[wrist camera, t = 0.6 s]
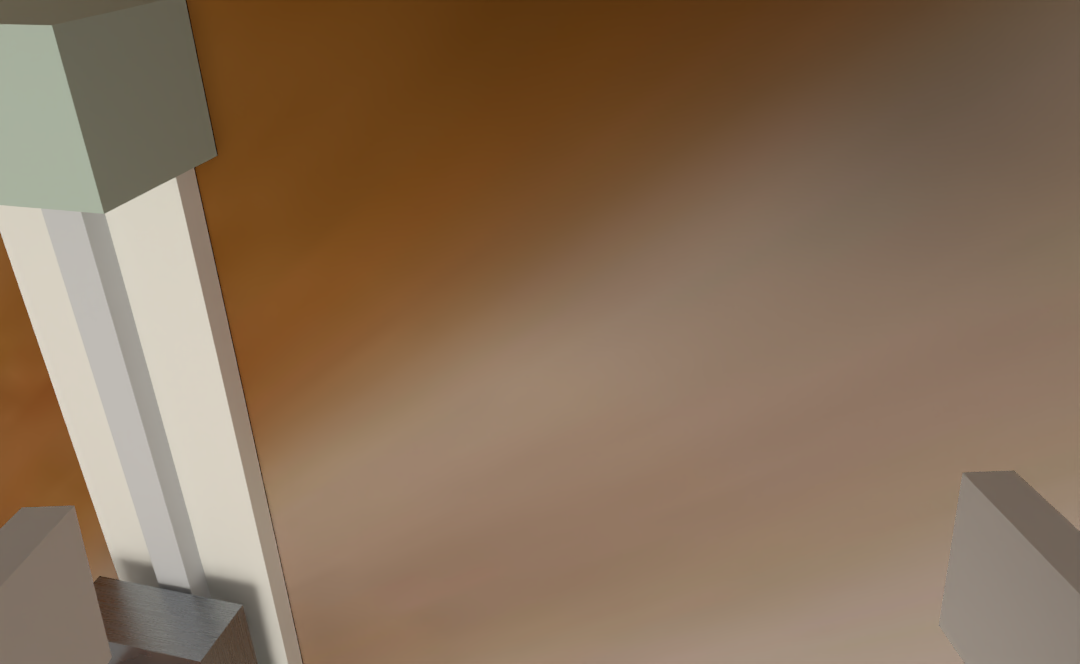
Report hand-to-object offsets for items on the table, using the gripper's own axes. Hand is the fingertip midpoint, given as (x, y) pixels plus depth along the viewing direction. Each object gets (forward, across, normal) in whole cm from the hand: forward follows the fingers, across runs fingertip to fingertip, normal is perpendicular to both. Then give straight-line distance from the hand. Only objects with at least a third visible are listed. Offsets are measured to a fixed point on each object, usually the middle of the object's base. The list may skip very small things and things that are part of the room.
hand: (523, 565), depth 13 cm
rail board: (+22, -15, -10) cm, 28 cm away
